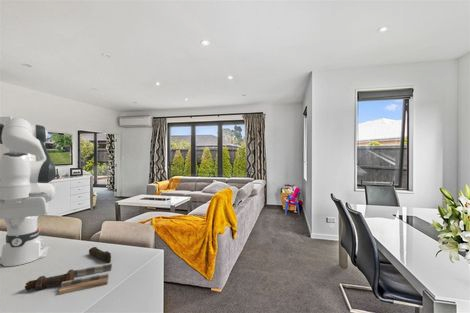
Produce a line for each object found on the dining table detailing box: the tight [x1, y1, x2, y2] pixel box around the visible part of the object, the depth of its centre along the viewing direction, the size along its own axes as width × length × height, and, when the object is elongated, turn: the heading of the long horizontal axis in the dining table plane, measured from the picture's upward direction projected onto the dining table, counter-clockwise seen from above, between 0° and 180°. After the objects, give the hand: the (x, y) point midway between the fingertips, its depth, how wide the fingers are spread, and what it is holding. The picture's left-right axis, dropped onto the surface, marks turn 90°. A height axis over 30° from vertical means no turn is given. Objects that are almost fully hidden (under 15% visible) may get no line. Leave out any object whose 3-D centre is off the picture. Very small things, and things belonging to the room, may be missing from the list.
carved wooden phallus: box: [88, 246, 112, 264], centre depth 112 cm, size 19×4×5 cm, turn 54°
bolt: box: [24, 269, 75, 291], centre depth 87 cm, size 6×5×15 cm
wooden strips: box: [58, 263, 113, 295], centre depth 92 cm, size 16×16×2 cm
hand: (14, 229), depth 83 cm, fingers closed
